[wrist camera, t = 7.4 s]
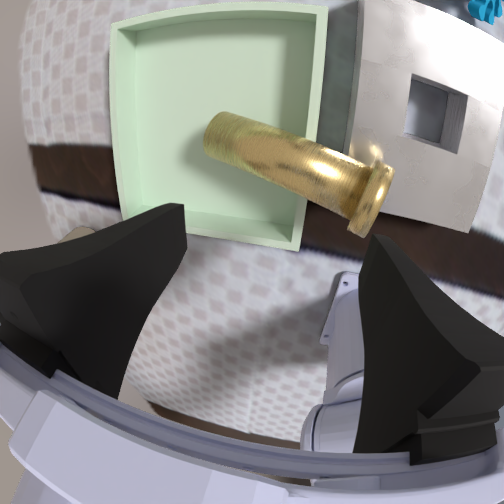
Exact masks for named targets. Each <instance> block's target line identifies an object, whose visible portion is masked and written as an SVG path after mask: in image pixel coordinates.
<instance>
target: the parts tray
mask: <svg viewBox="0 0 504 504" xmlns="http://www.w3.org/2000/svg"><path fill="white" fill-rule="evenodd" d="M327 20H328V7H325V6H317V5H309V4H298V3H284V2H229V3H215V4H204V5H195V6H188V7H181V8H175V9H169V10H164V11H159V12H154V13H149V14H145V15H141V16H137V17H133V18H129V19H125V20H122V21H118V22H115V23H112V24H111V33H110V54H109V96H110V119H111V133H112V145H113V155H114V164H115V173H116V180H117V187H118V194H119V201H120V207H121V213H122V218H123V221H124V220H127V219H129V218H131V217H134V216H136V215H138V214H141V213H143V212H145V211H148V210H150V209H152V208H155V207H157V206H160V205H163V204H166V203H179V204H184V211H185V225H186V233H189V234H196V235H202V236H208V237H214V238H220V239H226V240H232V241H239V242H245V243H251V244H257V245H263V246H269V247H275V248H281V249H286V250H292V251H298V252H299V247H300V241H301V235H302V229H303V224H304V218H305V211H306V205H307V199H306V198H304V197H302V196H300V195H297V194H295V193H293V192H291V191H289V190H287V189H284V188H282V187H280V186H278V185H276V184H273V183H271V182H269V181H266V180H264V179H262V178H260V177H257V176H255V175H253V174H250V173H248V172H246V171H243V170H241V169H238V168H236V167H233V166H231V165H229V164H226V163H224V162H221V161H219V160H216V159H214V158H211V157H209V156H207V155H206V154H205V152H204V149H203V138H204V134H205V131H206V128H207V126H208V124H209V122H210V121H211V120H212V118H213V117H214V116H215V115H216V114H218V113H219V112H222V111H227V112H230V113H234V114H237V115H240V116H243V117H247V118H250V119H253V120H256V121H259V122H262V123H265V124H268V125H271V126H274V127H277V128H279V129H282V130H285V131H288V132H290V133H293V134H296V135H298V136H301V137H304V138H306V139H309V140H311V141H314V142H316V135H317V127H318V119H319V110H320V101H321V92H322V82H323V72H324V61H325V49H326V36H327Z"/></svg>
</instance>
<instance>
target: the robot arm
mask: <svg viewBox="0 0 504 504" xmlns="http://www.w3.org/2000/svg"><path fill="white" fill-rule="evenodd" d="M186 250H187V238H186V225H185V211H184V204H179V203H166V204H163V205H160V206H157V207H155V208H152V209H150V210H148V211H145V212H143V213H141V214H138V215H136V216H134V217H131V218H129V219H127V220H124V221H122V222H119V223H117V224H115V225H112V226H110V227H108V228H105V229H102V230H100V231H97V232H94V233H91V234H88V235H85V236H83V237H79V238H76V239H72V240H68V241H65V242H61V243H58V244H53V245H49V246H44V247H39V248H33V249H28V250H19V251H10V252H3V253H1V254H0V312H1V313H2V315H3V317H4V318H5V320H4V322H3V323H2V324H0V417H1V418H2V419H3V420H4V422H5V423H6V424H7V425H8V426H9V427H10V428H11V429H12V430H13V433H12V435H11V437H10V439H9V443H8V445H9V447H10V450H11V453H12V454H13V455H14V456H15V457H16V458H17V459H18V460H19V462H20V463H21V464H22V465H23V466H25V468H26V469H25V471H24V473H23V475H22V478H21V480H20V482H19V484H18V486H17V489H16V491H15V494H14V496H13V498H12V501H11V503H10V504H497V503H499V502H501V501H503V500H504V427H502V428H500V429H498V430H496V431H495V425H494V423H496V422H497V421H499V418H500V416H499V411H498V409H500V408H501V407H502V406H503V405H504V337H502V336H501V335H499V334H498V333H496V332H495V331H493V330H492V329H490V328H489V327H487V326H485V325H484V324H483V323H481V322H480V321H478V320H477V319H476V318H474V317H473V316H472V315H470V314H469V313H468V312H467V311H465V310H464V309H463V308H461V307H460V306H459V305H458V304H456V303H455V302H454V301H453V300H452V299H451V298H450V297H449V296H447V295H446V294H445V293H444V292H443V291H442V290H441V289H440V288H439V287H437V286H436V285H435V284H434V283H433V282H432V281H431V280H430V279H429V278H428V277H427V276H426V275H425V274H424V273H423V272H422V271H421V269H420V268H419V267H418V266H417V265H416V264H415V263H414V262H413V261H412V260H411V259H410V258H409V257H408V256H407V255H406V254H405V253H404V252H403V250H402V249H401V248H400V247H399V246H398V245H397V244H396V243H395V242H394V241H393V240H391V239H390V238H389V237H388V236H383V235H378V234H372V237H371V240H370V243H369V247H368V250H367V253H366V256H365V259H364V262H363V265H362V268H361V271H360V273H359V274H356V273H350V272H345V273H343V274H342V275H341V278H340V281H339V284H338V287H337V291H336V294H335V297H334V300H333V303H332V306H331V309H330V311H329V314H328V317H327V320H326V323H325V326H324V328H323V331H322V334H321V337H320V340H319V342H320V344H322V345H328V362H327V378H326V391H324V397H323V404H318V405H316V406H314V407H313V408H312V409H311V411H310V412H309V414H308V416H307V417H306V419H305V421H304V424H303V427H302V431H301V438H300V450H297V449H289V448H282V447H275V446H269V445H263V444H257V443H252V442H247V441H242V440H237V439H233V438H229V437H224V436H220V435H216V434H213V433H209V432H205V431H202V430H198V429H195V428H191V427H188V426H185V425H182V424H178V423H175V422H172V421H169V420H167V419H164V418H161V417H158V416H155V415H153V414H150V413H147V412H145V411H142V410H140V409H137V408H135V407H132V406H130V405H127V404H125V403H123V402H120V401H118V396H119V392H120V388H121V385H122V381H123V378H124V374H125V371H126V368H127V365H128V363H129V360H130V357H131V354H132V351H133V349H134V346H135V344H136V341H137V339H138V337H139V334H140V332H141V330H142V328H143V325H144V323H145V321H146V319H147V317H148V315H149V313H150V311H151V310H152V308H153V306H154V305H155V303H156V301H157V300H158V298H159V297H160V295H161V294H162V292H163V291H164V289H165V288H166V286H167V284H168V283H169V281H170V280H171V278H172V277H173V275H174V274H175V272H176V270H177V269H178V267H179V265H180V263H181V261H182V259H183V257H184V254H185V252H186ZM343 282H348V283H343ZM101 420H102V421H101ZM103 421H104V422H103ZM105 422H106V423H105ZM107 423H108V424H107ZM109 424H110V425H109ZM124 431H125V432H124ZM133 435H134V436H133ZM140 438H141V439H140ZM145 440H146V441H145ZM150 442H151V443H150ZM155 444H156V445H155ZM166 448H167V449H166ZM190 456H191V457H190ZM200 459H201V460H200ZM211 462H212V463H211ZM215 463H216V464H215ZM219 464H220V465H219ZM222 465H224V466H222ZM226 466H228V467H226ZM229 467H233V468H237V469H242V470H247V471H252V472H257V473H264V474H270V475H276V476H284V477H293V478H303V479H310V481H311V486H312V487H308V486H301V485H294V484H288V483H282V482H279V481H276V480H273V479H269V478H266V477H263V476H260V475H257V474H254V473H249V472H245V471H241V470H237V469H233V468H229Z"/></svg>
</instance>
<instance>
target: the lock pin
mask: <svg viewBox="0 0 504 504" xmlns="http://www.w3.org/2000/svg"><path fill="white" fill-rule="evenodd" d="M203 149H204V152H205V154H206V155H207V156H209V157H211V158H214V159H216V160H219V161H221V162H224V163H226V164H229V165H231V166H233V167H236V168H238V169H241V170H243V171H246V172H248V173H250V174H253V175H255V176H257V177H260V178H262V179H264V180H266V181H269V182H271V183H273V184H276V185H278V186H280V187H282V188H284V189H287V190H289V191H291V192H293V193H295V194H297V195H300V196H302V197H304V198H306V199H308V200H310V201H312V202H314V203H316V204H319V205H321V206H323V207H325V208H327V209H329V210H331V211H333V212H335V213H337V214H339V215H341V216H343V217H345V218H347V219H349V220H351V221H350V223H349V225H348V227H347V230H349V231H351V232H353V233H355V234H357V235H359V236H360V237H362V238H365V236H366V235H367V233H368V232H369V230H370V228H371V226H372V224H373V223H374V221H375V219H376V217H377V215H378V213H379V211H380V208H381V206H382V204H383V202H384V200H385V197H386V195H387V193H388V190H389V188H390V185H391V182H392V180H393V177H394V173H395V168H393V167H391V166H389V165H387V164H385V163H383V162H381V161H379V160H377V162H376V165H375V167H374V168H372V167H370V166H368V165H366V164H364V163H361V162H359V161H357V160H355V159H353V158H351V157H349V156H346V155H344V154H342V153H340V152H337V151H335V150H333V149H330V148H328V147H326V146H323V145H321V144H319V143H316V142H314V141H311V140H309V139H306V138H304V137H301V136H298V135H296V134H293V133H290V132H288V131H285V130H282V129H279V128H277V127H274V126H271V125H268V124H265V123H262V122H259V121H256V120H253V119H250V118H247V117H243V116H240V115H237V114H234V113H230V112H227V111H222V112H219V113H218V114H216V115H215V116H214V117H213V118H212V120H211V121H210V122H209V124H208V126H207V128H206V131H205V134H204V138H203Z"/></svg>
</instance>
